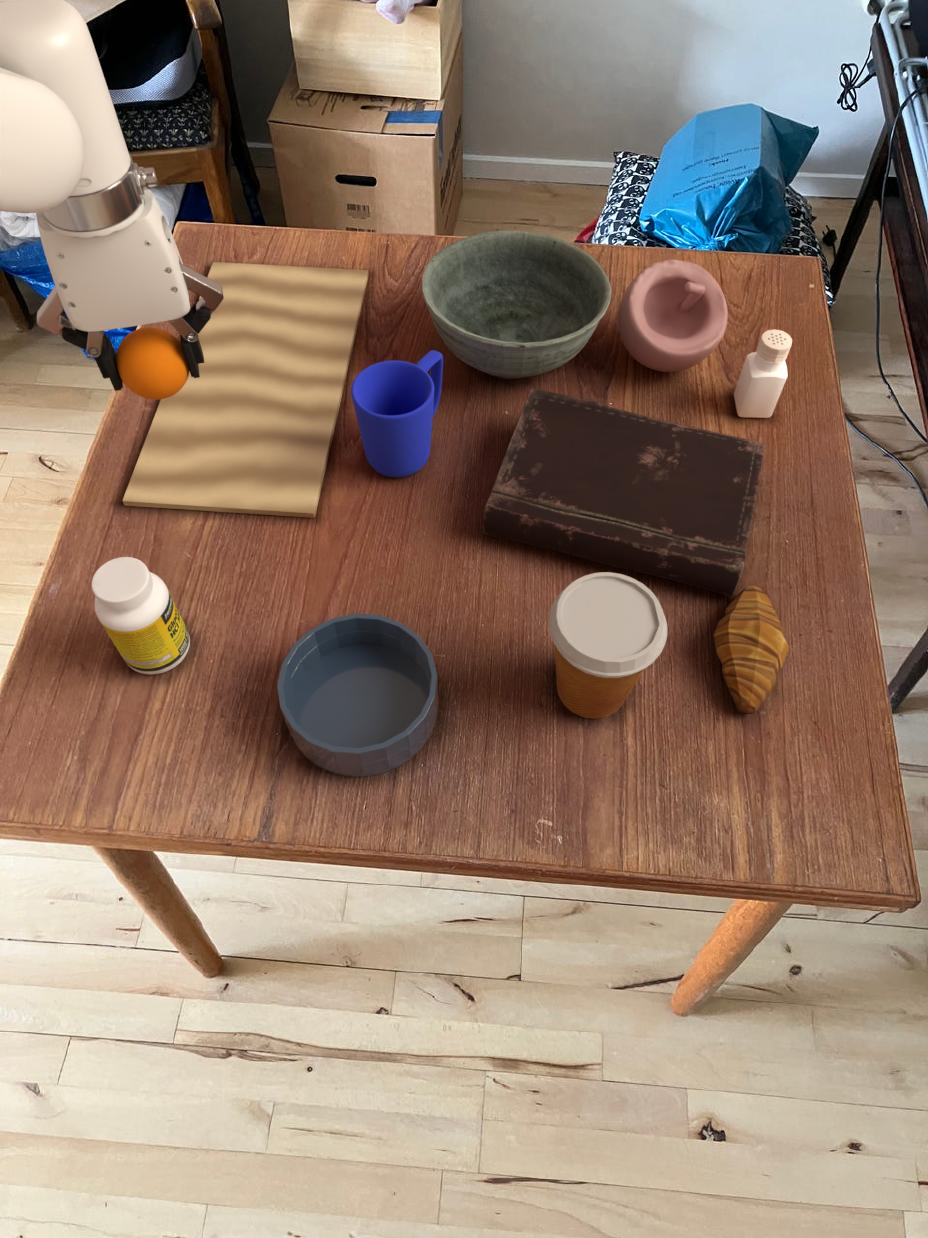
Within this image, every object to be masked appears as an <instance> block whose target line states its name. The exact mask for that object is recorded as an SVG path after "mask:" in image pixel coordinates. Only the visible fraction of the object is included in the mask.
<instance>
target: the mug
mask: <svg viewBox="0 0 928 1238" xmlns="http://www.w3.org/2000/svg"><path fill="white" fill-rule="evenodd" d="M443 369H444V356H443V354H442V352H440V351H437V350H434V349H432V350H429V351H428V352H427V353H426V354H424V355H423V356H422V357H421V358H420V359H419V360H418V361H417V362H416V364H415V363H412V362H409V361H404V360H384V361H379V362H376V363H372V364H371V365H368V366H367V367H365V368H364V369H362V370H361V371H360V372H359V373H357V375H356V376H355V377H354V380H353V381H352V383H351V387H350V394H351V399H352V404H353V408H354V413H355V417H356V420H357V425H358V430H359V433H360V437H361V442H362V446H363V450H364V455H365V458H366V460H367V461H368V464H369V465H370V466H371V467H372V468H373V470H374V471H376V472H377V473H378V474H380V475H382V476H386V477H389V478H397V479H398V478H406V477H410V476H412V475H415V474H417V472H419V471H420V470H421V469H423V468H424V466H425V465H426V463H427V462H428V460H429V457H430V454H431V446H432V445H431V444H432V431H433V417H434V416H435V414H436V412H437V410H438V407H439V404H440V400H441V393H442V385H443V373H444V372H443ZM428 371H430V372H429V373H428Z"/></svg>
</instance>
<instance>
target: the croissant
mask: <svg viewBox="0 0 928 1238" xmlns="http://www.w3.org/2000/svg"><path fill="white" fill-rule="evenodd" d="M713 640H714V646H715V651H716V655H717V657H718V659H719V660H720V662H721V673H722V676H723V679H724V681H725V684H726V686H727V689H728V691H729V693H730V696H731V699H732V701H733V703H734V706H735V707H736V710H737V712H739V713H741V714H744V715H754V714H755V713H756V712H757V711H758V710H759V708H760V707H761V706H763V704H764V702H765V701H766V700H767V698H768V697H769V695H770V694H771V692H772V691H773V689H774V687H775V686H776V684H777V675H778V673H779V671H781V669H782V668H783V666H784V665H785V661H786V659H787V657H788V653H789V651H790V648H789V647H790V646H789V643H788V641H787V638H786V634H785V632H784V629H783V626H782V622H781V621H780V620H779V617H778V615H777V612H776V611H775V608H774V606H773V604H772V602H771V600H770V598H769V596H768V595H767V594H766V593H765V592H764V590H763V589H762V588H761V587H758V586H756V585H746V586H745V587H744V588H743V589H742V590H741V591H740V592H739V593H738V594H737V596H735V597H734V599H733V600H732V601H731V602H730V603H729V604H728V605H727V607H726V608H725V612H724V616H723V617H722V618H721V619H720V620H719V621H718V623H717V625H716V628H715V631H714V633H713Z"/></svg>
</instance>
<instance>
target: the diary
mask: <svg viewBox="0 0 928 1238" xmlns="http://www.w3.org/2000/svg"><path fill="white" fill-rule="evenodd" d="M765 449H766V442H762V441H758V440H752V439H748V438H743V437H739V436H736V435H731V434H726V433H722V432H717V431H713V430H708V429H703V428H700V427H694V426H691V425H685V424H681V423H676V422H672V421H667V420H663V419H658V418H653V417H649V416H645V415H642V414H640V413H636V412H633V411H628V410H625V409H622V408H618V407H614V406H612V405H611V406H610V405H607V404H605V403H604V404H603V403H600V402H597V401H593V400H589V399H584V398H579V397H574V396H570V395H565V394H561V393H556V392H552V391H547V390H543V389H538V388H533V387H531V388H530V390H529V393H528V395H527V398H526V400H525V402H524V405H523V407H522V410H521V412H520V415H519V418H518V421H517V423H516V425H515V428H514V430H513V433H512V435H511V438H510V440H509V443H508V445H507V448H506V450H505V454H504V456H503V458H502V461H501V464H500V467H499V470H498V472H497V475H496V477H495V480H494V481H493V482H494V483H493V486H492V488H491V491H490V493H489V496H488V498H487V500H486V503H485V506H484V511H483V516H482V527H481V529H482V532H483V534H484V535H486V536H489V537H495V538H498V539H504V540H507V541H512V542H517V543H521V544H526V545H529V546H533V547H534V546H535V547H538V548H541V549H547V550H551V551H554V552H559V553H562V554H566V555H569V556H573V557H576V558H580V559H583V560H587V561H590V562H595V563H599V564H601V565H605V566H609V567H613V568H619V569H622V570H627V571H630V572H631V571H632V572H636V573H641V574H645V575H649V576H652V577H653V576H654V577H658V578H662V579H667V580H670V581H675V582H677V583H681V584H684V585H689V586H692V587H695V588H698V589H703V590H706V591H709V592H712V593H716V594H720V595H723V596H728V597H732V596H733V594H734V593H735V591H736V588H737V586H738V585H739V582H740V580H741V577H742V574H743V572H744V568H745V563H746V557H747V551H748V544H749V540H750V534H751V529H752V523H753V519H754V513H755V507H756V502H757V496H758V491H759V486H760V480H761V476H762V475H761V473H762V467H763V462H764V457H765V456H764V455H765Z"/></svg>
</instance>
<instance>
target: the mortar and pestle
mask: <svg viewBox="0 0 928 1238" xmlns="http://www.w3.org/2000/svg"><path fill="white" fill-rule="evenodd" d="M617 313H618V314H617V326H618V332H619V336H620V339H621V341H622V344H623V345H624V348H625V349H626V351H627V352H628V353H629V354H630V356H631V357H632V358H633V359H634V360H635V361H637V362H638V363H639V364H640V365H642V366H644V367H645V368H648V369H650V370H653V371H657V372H662V373H663V372H664V373H676V372H681V371H686V370H688V369H690V368H693V367H695V366H696V365H698V364H700V363H701V362H703V361H704V360H705V359H707V358H708V357H709V356H710V355H711V354H712V353H713V352H714V350H715V349H716V348H717V347H718V345H719V344H720V342H721V341H722V339H723V338H724V336H725V333H726V330H727V326H728V318H729V313H728V304H727V300H726V297H725V295H724V291H723V290H722V288H721V286H720V284H719V283H718V282H717V279H715V277H714V276H713V275H712V274H711V273H710V272H709V271H707V269H705V268H704V267H702V266H700V265H699V264H697V263H694V262H691V261H687V260H680V259H672V258H669V259H663V260H660V261H658V262H657V261H656V262H654V263H652V264H650V265H649V266H647V267H646V268H644V269H642V270H641V271H640V272H639V273H638V274H637V275H635V277H634V278H633V279H632V280H631V281H630V282H629V284H628V286H627V287H626V289H625V290H624V292H623V295H622V297H621V300H620V303H619V308H618V312H617Z"/></svg>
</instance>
